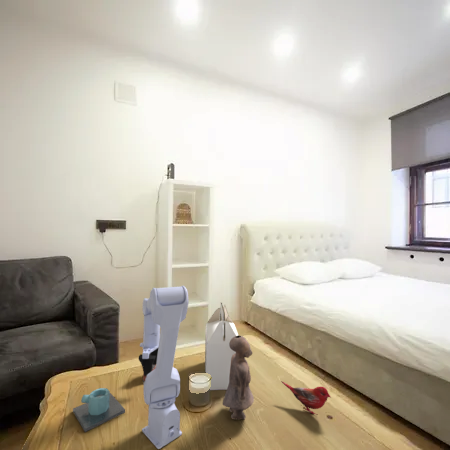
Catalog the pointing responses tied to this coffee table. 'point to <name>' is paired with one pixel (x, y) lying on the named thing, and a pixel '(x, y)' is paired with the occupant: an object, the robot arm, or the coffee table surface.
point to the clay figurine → (239, 379)
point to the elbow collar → (97, 401)
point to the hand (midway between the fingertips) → (150, 369)
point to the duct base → (95, 420)
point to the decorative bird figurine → (310, 396)
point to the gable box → (219, 348)
